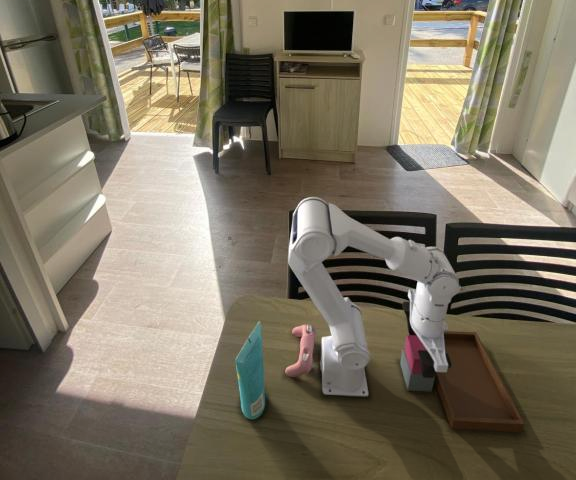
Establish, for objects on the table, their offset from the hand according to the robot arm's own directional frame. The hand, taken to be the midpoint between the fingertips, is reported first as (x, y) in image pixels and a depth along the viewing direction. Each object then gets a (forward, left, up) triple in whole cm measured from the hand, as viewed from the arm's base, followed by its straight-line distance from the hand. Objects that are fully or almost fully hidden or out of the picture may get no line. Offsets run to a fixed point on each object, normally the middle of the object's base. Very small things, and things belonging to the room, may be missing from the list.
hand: (420, 353), depth 62 cm
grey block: (0, 0, -8) cm, 8 cm away
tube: (-35, -6, -8) cm, 36 cm away
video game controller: (-25, +3, -8) cm, 26 cm away
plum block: (0, 0, -2) cm, 2 cm away
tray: (+10, 0, -8) cm, 13 cm away
